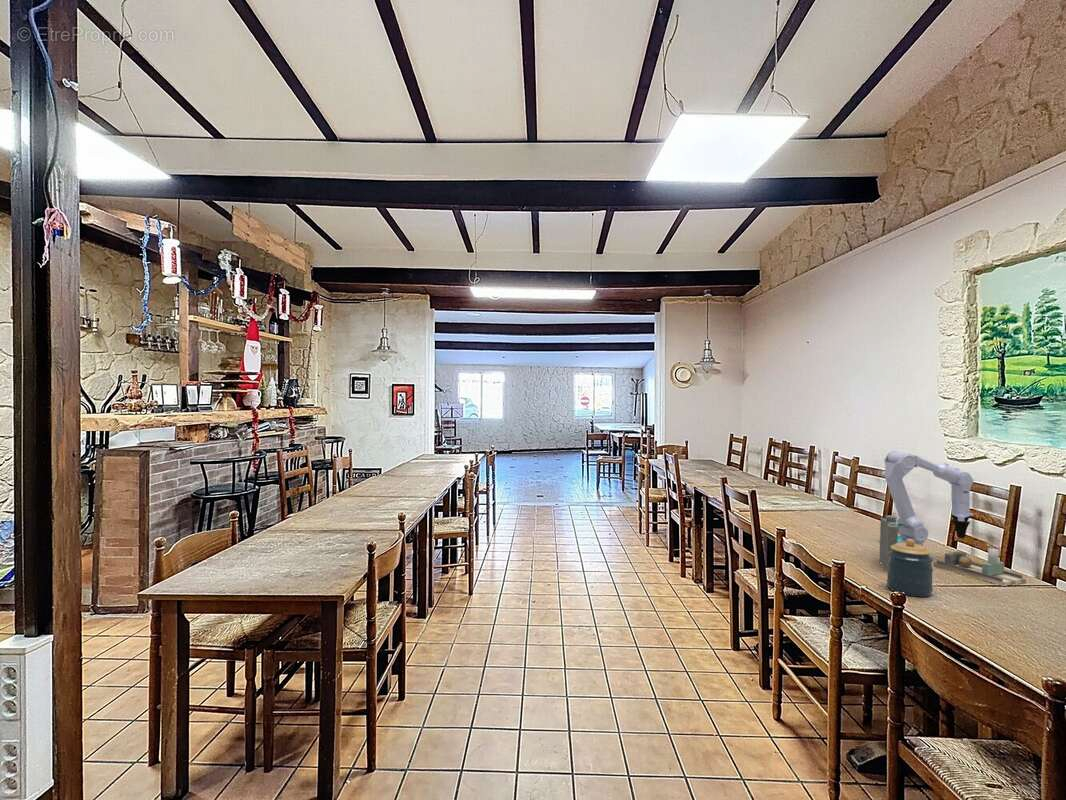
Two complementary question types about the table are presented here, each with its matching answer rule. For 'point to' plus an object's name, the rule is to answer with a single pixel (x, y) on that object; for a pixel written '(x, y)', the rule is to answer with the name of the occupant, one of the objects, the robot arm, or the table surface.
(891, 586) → the canister
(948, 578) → the table surface
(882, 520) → the hip flask
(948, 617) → the table surface
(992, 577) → the base
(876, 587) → the table surface
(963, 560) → the walnut
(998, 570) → the sliding jaw
